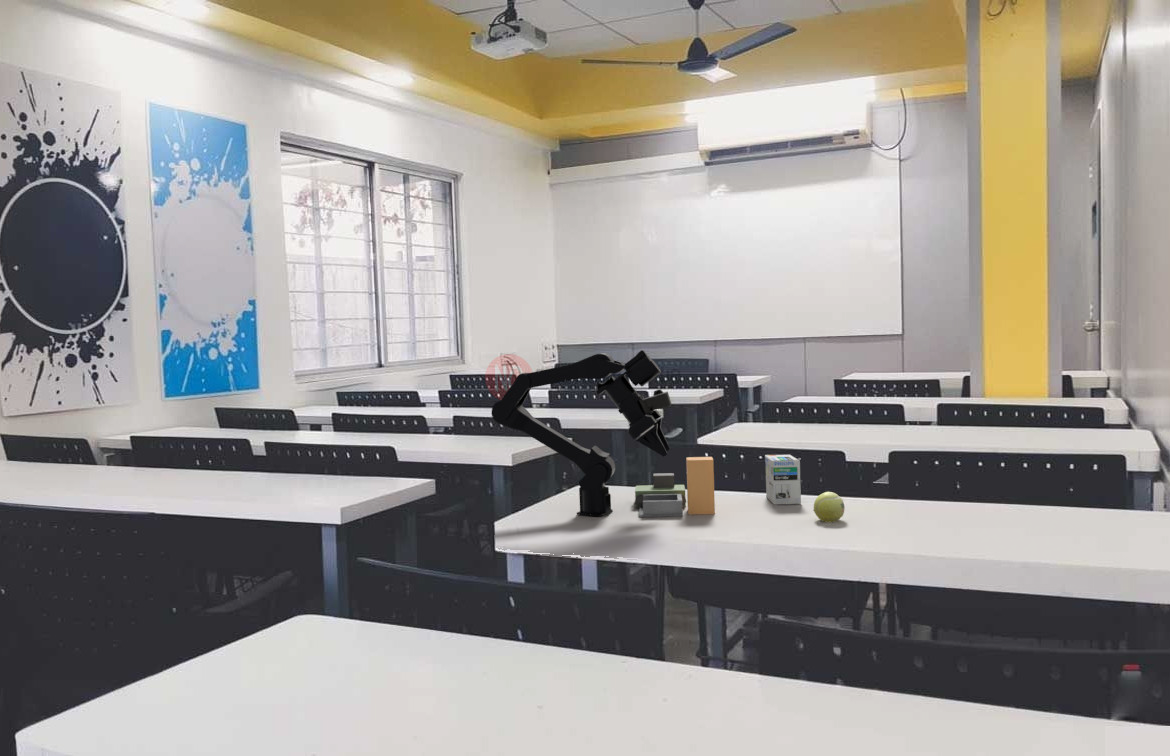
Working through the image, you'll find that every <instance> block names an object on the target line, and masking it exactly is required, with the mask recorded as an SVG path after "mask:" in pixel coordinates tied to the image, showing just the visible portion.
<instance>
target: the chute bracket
mask: <svg viewBox="0 0 1170 756" xmlns="http://www.w3.org/2000/svg"><path fill="white" fill-rule="evenodd" d="M683 508H684V507H683V505H682V496H681V494H647V495H643V507H639V508H638V509H639V510H638V511H639V512H638V518H674V517H675V518H677V517H684V514H683V513H684V510H683Z"/></svg>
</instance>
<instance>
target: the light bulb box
mask: <svg viewBox="0 0 1170 756" xmlns="http://www.w3.org/2000/svg"><path fill="white" fill-rule="evenodd" d="M764 460H765V461H764V462H765V489H766V490H765V491H766V495H765V496H766V498H767V499H768V500H769V501H770V502H771V503H772V504H773V505H801V504H802V498H801V497H802V492H801V489H802V488H801V487H802V486H801V460H800V459H798V458H796V457H794V456H793V455H791V454H765V455H764Z"/></svg>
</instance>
